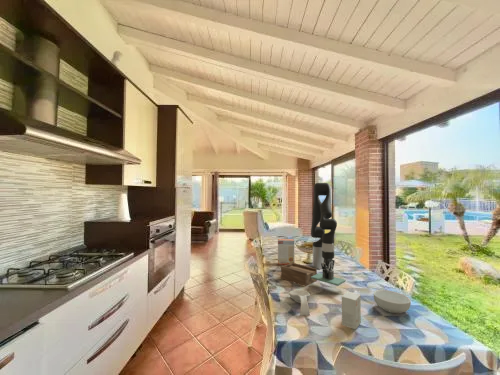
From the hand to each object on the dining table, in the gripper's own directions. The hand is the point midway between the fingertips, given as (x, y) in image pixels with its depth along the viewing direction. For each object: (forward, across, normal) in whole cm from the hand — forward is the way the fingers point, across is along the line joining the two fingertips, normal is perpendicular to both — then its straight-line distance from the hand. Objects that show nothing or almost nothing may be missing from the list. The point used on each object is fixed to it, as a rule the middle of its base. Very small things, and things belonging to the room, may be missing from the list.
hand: (328, 277), depth 151 cm
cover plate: (+2, 0, 0) cm, 2 cm away
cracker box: (+7, -24, -51) cm, 57 cm away
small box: (+8, +30, +27) cm, 41 cm away
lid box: (+7, 0, -22) cm, 23 cm away
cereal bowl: (+8, +1, +36) cm, 37 cm away
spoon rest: (+8, +31, 0) cm, 32 cm away
